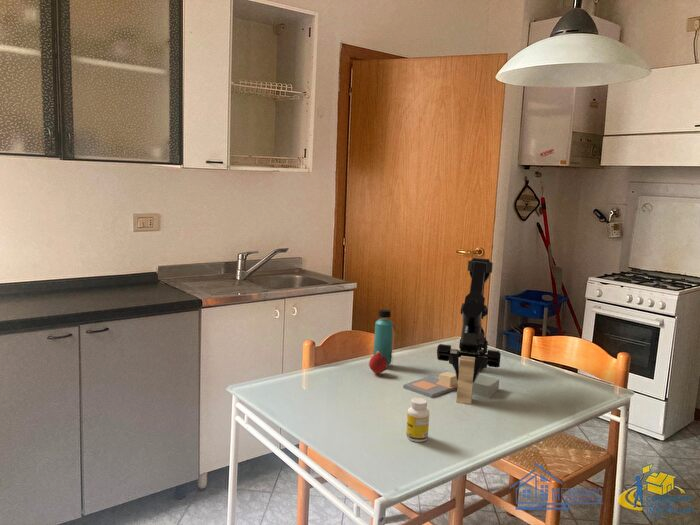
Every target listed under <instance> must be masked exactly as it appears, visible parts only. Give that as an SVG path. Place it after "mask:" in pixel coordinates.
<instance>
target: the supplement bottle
mask: <svg viewBox="0 0 700 525" xmlns="http://www.w3.org/2000/svg"><path fill="white" fill-rule="evenodd" d="M427 407H428V401H427V400H426V398H421V397H413V398H411V400H410V407H409V408H408V409H407V418H406V435H405V436H406V438H407V440H409V441H411V442H414V441H415V443H424V442H425V441H427V440H428V437H429V423H430V410H429V409H428V408H427Z"/></svg>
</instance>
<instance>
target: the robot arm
mask: <svg viewBox="0 0 700 525" xmlns="http://www.w3.org/2000/svg"><path fill="white" fill-rule="evenodd" d="M493 266H494V262H491V260H490V258H481V257H472V259H471V260H468V261H467V272H468V271H469V277H470V280H471V282H470V289H469V293H468V294H467V295H465V298H464V303H463V302H462V303H461V307H460V315H462V328H461V334H460V335H461V336H460V339H459V344H458V346H459V347H458V348H459V349H457V348H452V345H451V344H443V343H440V344H438V346H437V348H436V357H437V359H436V360H438V361H443V362H448V364H451V365H452V367H453V370H454V372H455V373H454V374H456V378H457V380H458V376H459V364H460V357H461V356H468V357H475V366H474V375H473V382H475V380H476V378H477V376H478V375H480V373H481V372H482V371H483V370H484V369H487V368H488V367H490V368H500V367H501V355H502V354H501V351H500V350H493V349H488V342H489V341H488V340H487V337H486V333H485V330H484V329H483V327H482V324H483V323H482V320H483V319H484V318H485V317H486V316H487V315H488V314H489V309H488V307H487V305H486V302H485V301H486V298H485V296H484V293H485V286H486V285H485V284H486V283H487V282H488V280H489V279H490V276H491V273H493V268H494V267H493Z"/></svg>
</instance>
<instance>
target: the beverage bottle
mask: <svg viewBox="0 0 700 525" xmlns="http://www.w3.org/2000/svg"><path fill="white" fill-rule="evenodd" d="M378 317H380V318H378V319H377V320H376V321H375V324H374V325H375V326H374V338H373V340H374V341H373V356H374V355H375V354H376V353H377V351H379V352H380V353H381V354H382V355H383V356H384V357H385V359H386V361H387V366H389V365H390V364H391V363H392V359H393V344H394V343H393V339H394V338H393V334H394V332H393V331H394V322H393V321H392V320H391V319H389V318H391V310H389V309H379V311H378Z"/></svg>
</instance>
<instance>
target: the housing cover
mask: <svg viewBox="0 0 700 525" xmlns="http://www.w3.org/2000/svg"><path fill="white" fill-rule="evenodd" d="M499 388H500V379H499V378H496V377H493V376H492V377H491V376H487V375H482V374H479V375H478V376H477V378H476V380H475V382H473V390H472V395H473V394H474V395H476V396H481V397H484V398H489V397H491V396H492V395H494V394H495V393H496V392H498V391H499Z"/></svg>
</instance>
